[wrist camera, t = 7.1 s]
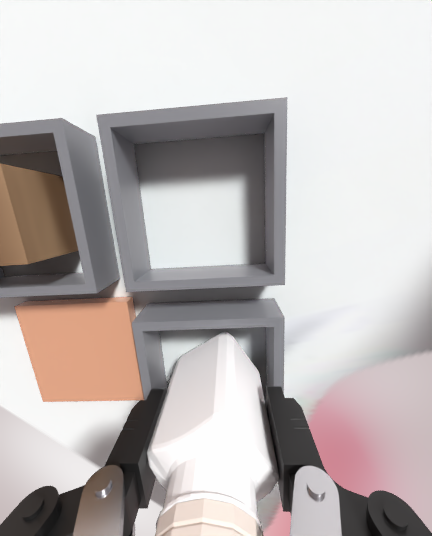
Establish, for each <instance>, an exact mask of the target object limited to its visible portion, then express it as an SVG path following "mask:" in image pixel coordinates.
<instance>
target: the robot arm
mask: <svg viewBox="0 0 432 536" xmlns="http://www.w3.org/2000/svg"><path fill="white" fill-rule="evenodd" d="M166 393H167V389H166V388H156V389H151V390H150V392H149V395H148V397H147V399H146V400H140V401H139V402H138V403H137V404H136V405H135V406H134V408H133V409H132V410H131V412H130V414H129V416H128V418H127V421H126V423H125V425H124V427H123V430H122V431H121V433H120V435H119V437H118V439H117V441H116V443H115V446H114V448H113V450H112V452H111V454H110V456H109V458H108V460H107V462H106V464H105V466H104V467H103V468H101V469H99V470H98V471H97V472H95V473H94V474H93V475H92V476H91V477H90V479H89V480H88V481H87V483H86V485H84V486H82V487H79V488H76V489H74V490H71V491H68V492H65V493H62V494H60V495H59V494H58V491H57V490H56V488H55V487H53V486H45V487H42V488H39V489H37V490H35V491H34V492H32V493H31V494H29V495H28V496H27V497H26V498H25V499H23V500H22V502H20V503H19V505H18V506H17V507H16V508H15V509H14V510H13V511H12V512H11V514H10V515H9V516H8V517H7V518H6V519H5V520H4V521H3V523H2V524H1V525H0V536H135V524H134V522H135V519H136V516H137V512H138V509H139V508H148V504H149V500H150V497H151V493H152V489H153V486H154V482H155V478H156V476H155V475H154V473H153V471H152V470H151V468H150V466H149V461H148V455H147V451H148V447H149V444H150V441H151V438H152V435H153V432H154V429H155V426H156V423H157V420H158V417H159V414H160V411H161V408H162V405H163V402H164V399H165V396H166ZM266 410H267V416H268V421H269V426H270V431H271V436H272V441H273V447H274V452H275V457H276V462H277V467H278V473H279V479H278V485H279V490H280V496H281V501H282V507H283V511H286V512H287V511H289V512H290V513H291V528H290V536H432V533H431V532H430V531H429V529H428V528H427V527H426V526H425V524H424V523H423V522H422V521H421V519H420V518H419V517H418V516H417V515H416V513H415V512H414V511H413V510H412V509H411V507H410V506H408V504H407V503H405V502H404V501H403V500H402V499H400V498H399V497H397V496H396V495H394V494H392V493H389V492H386V491H375V492H373V493H372V494H370V496H369V498H367V497H364V496H362V495H359V494H356V493H353V492H351V491H348V490H346V489H344V488H342V487H341V486H339V485H338V484H337V483H336V482H335V481H333V480H332V479H331V477H330V476H329V475H328V474H327V472H326V470H325V469H324V467H323V465H322V461H321V459H320V456H319V453H318V451H317V448H316V445H315V443H314V440H313V437H312V434H311V432H310V429H309V426H308V424H307V421H306V419H305V416H304V413H303V410H302V408H301V406H300V405H299V404H298V403H297V402H296V400H295V399H294V398H285V397H284V394H283V391H282V388H281V386H276V387H266Z"/></svg>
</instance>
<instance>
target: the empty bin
mask: <svg viewBox="0 0 432 536" xmlns="http://www.w3.org/2000/svg"><path fill="white" fill-rule="evenodd" d="M97 121H98V127H99V133H100V139H101V145H102V151H103V157H104V163H105V169H106V175H107V181H108V187H109V192H110V198H111V204H112V210H113V216H114V222H115V228H116V234H117V240H118V246H119V252H120V258H121V264H122V269H123V275H124V281H125V287H126V292H137V291H159V290H182V289H204V288H227V287H249V286H272V285H285V234H286V155H287V97H286V98H276V99H265V100H254V101H243V102H232V103H221V104H210V105H199V106H189V107H178V108H167V109H156V110H145V111H134V112H123V113H112V114H102V115H97ZM263 133H264V154H265V263H264V264H244V265H224V266H204V267H184V268H164V269H151V266H150V259H149V251H148V244H147V237H146V229H145V222H144V215H143V208H142V200H141V193H140V186H139V178H138V171H137V164H136V156H135V149H134V144H143V143H155V142H167V141H179V140H191V139H203V138H215V137H227V136H239V135H251V134H263Z"/></svg>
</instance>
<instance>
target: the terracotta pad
mask: <svg viewBox="0 0 432 536" xmlns="http://www.w3.org/2000/svg"><path fill="white" fill-rule="evenodd" d="M14 307H15V310H16V314H17V317H18V320H19V324H20V327H21V330H22V333H23V337H24V340H25V343H26V347H27V350H28V353H29V357H30V360H31V363H32V367H33V370H34V373H35V376H36V380H37V383H38V386H39V390H40V393H41V396H42V400H43V402H55V401H119V400H144V394H143V388H142V382H141V376H140V370H139V364H138V358H137V352H136V346H135V341H134V335H133V329H132V322H133V321H134V319H135V318H136V315H135V309H134V303H133V297H114V298H91V299H68V300H44V301H25V302H23V303H21V304H19V305H16V306H14Z"/></svg>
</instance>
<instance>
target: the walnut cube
mask: <svg viewBox="0 0 432 536" xmlns="http://www.w3.org/2000/svg"><path fill="white" fill-rule="evenodd" d="M76 251H78V246H77V241H76V237H75V232H74V227H73V223H72V218H71V213H70V209H69V204H68V199H67V194H66V190H65V185H64V180H63V176H58V175H53V174H49V173H44V172H39V171H34V170H29V169H25V168H20V167H15V166H10V165H5V164H1V163H0V266H8V265H24V264H31V263H35V262H38V261H42V260H46V259H50V258H53V257H57V256H61V255H64V254H68V253H72V252H76Z"/></svg>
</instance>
